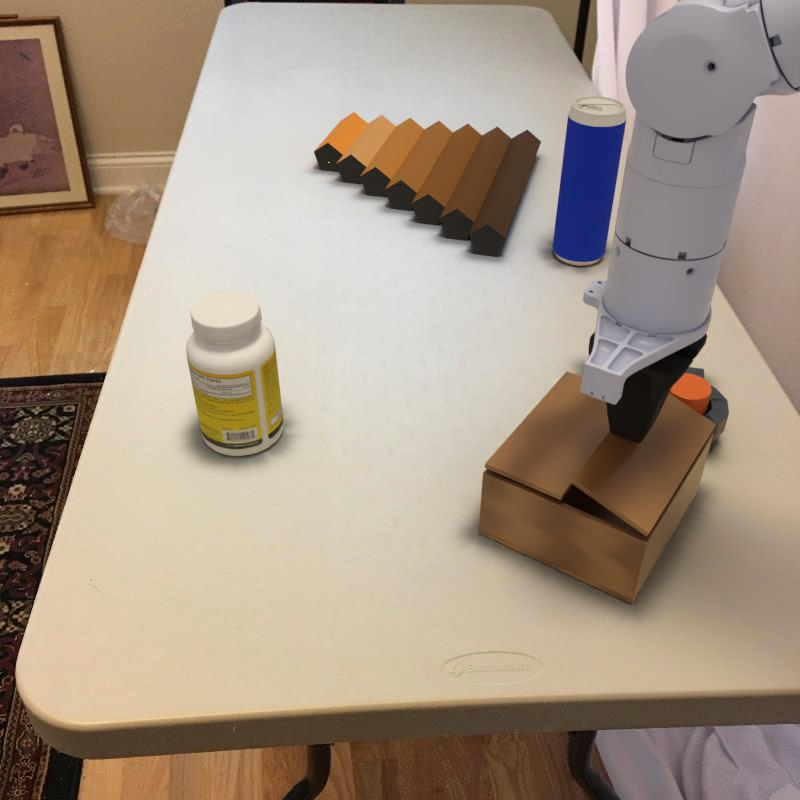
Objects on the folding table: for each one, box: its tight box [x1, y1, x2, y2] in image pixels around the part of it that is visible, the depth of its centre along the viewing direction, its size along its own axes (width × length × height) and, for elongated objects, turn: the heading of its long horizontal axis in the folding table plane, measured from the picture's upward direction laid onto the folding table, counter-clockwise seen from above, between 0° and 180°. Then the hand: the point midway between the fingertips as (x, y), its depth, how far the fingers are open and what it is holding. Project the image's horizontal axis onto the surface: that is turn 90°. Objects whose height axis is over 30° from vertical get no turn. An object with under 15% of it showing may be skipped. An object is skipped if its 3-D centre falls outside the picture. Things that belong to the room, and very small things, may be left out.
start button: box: [669, 373, 712, 415], centre depth 66 cm, size 3×3×2 cm
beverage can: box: [552, 95, 627, 267], centre depth 85 cm, size 5×5×15 cm
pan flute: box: [313, 111, 542, 257], centre depth 100 cm, size 25×3×25 cm
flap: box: [571, 394, 715, 536], centre depth 56 cm, size 5×12×1 cm, turn 146°
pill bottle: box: [185, 289, 284, 457], centre depth 65 cm, size 6×6×11 cm
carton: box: [478, 370, 713, 605], centre depth 60 cm, size 11×12×6 cm
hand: (628, 432), depth 56 cm, fingers closed
